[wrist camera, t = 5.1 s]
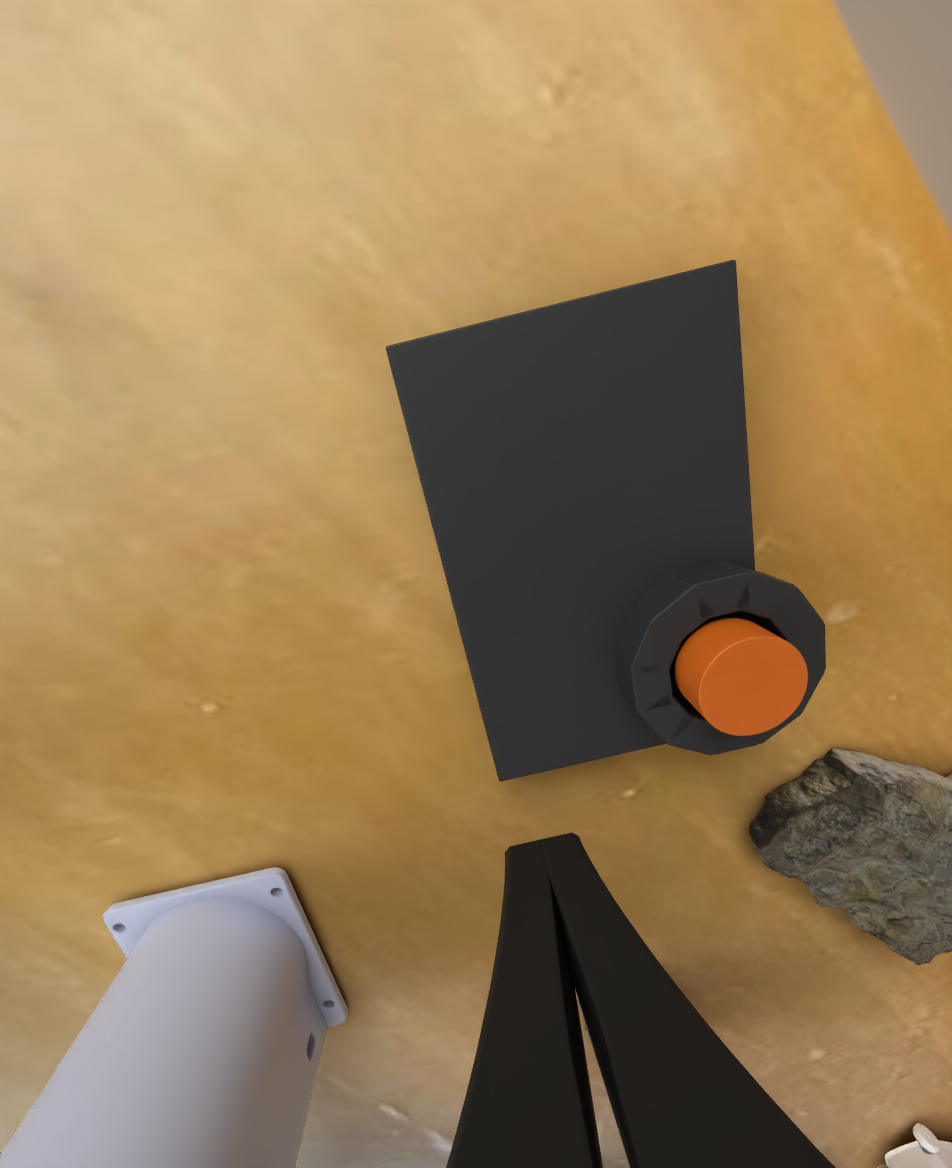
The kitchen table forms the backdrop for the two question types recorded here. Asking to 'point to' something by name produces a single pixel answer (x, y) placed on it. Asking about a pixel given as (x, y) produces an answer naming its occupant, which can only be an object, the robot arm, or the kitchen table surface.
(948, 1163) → the toy car
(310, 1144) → the kitchen table surface
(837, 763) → the stone
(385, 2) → the kitchen table surface
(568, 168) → the kitchen table surface
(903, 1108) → the kitchen table surface
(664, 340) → the grey push button box
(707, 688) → the button
